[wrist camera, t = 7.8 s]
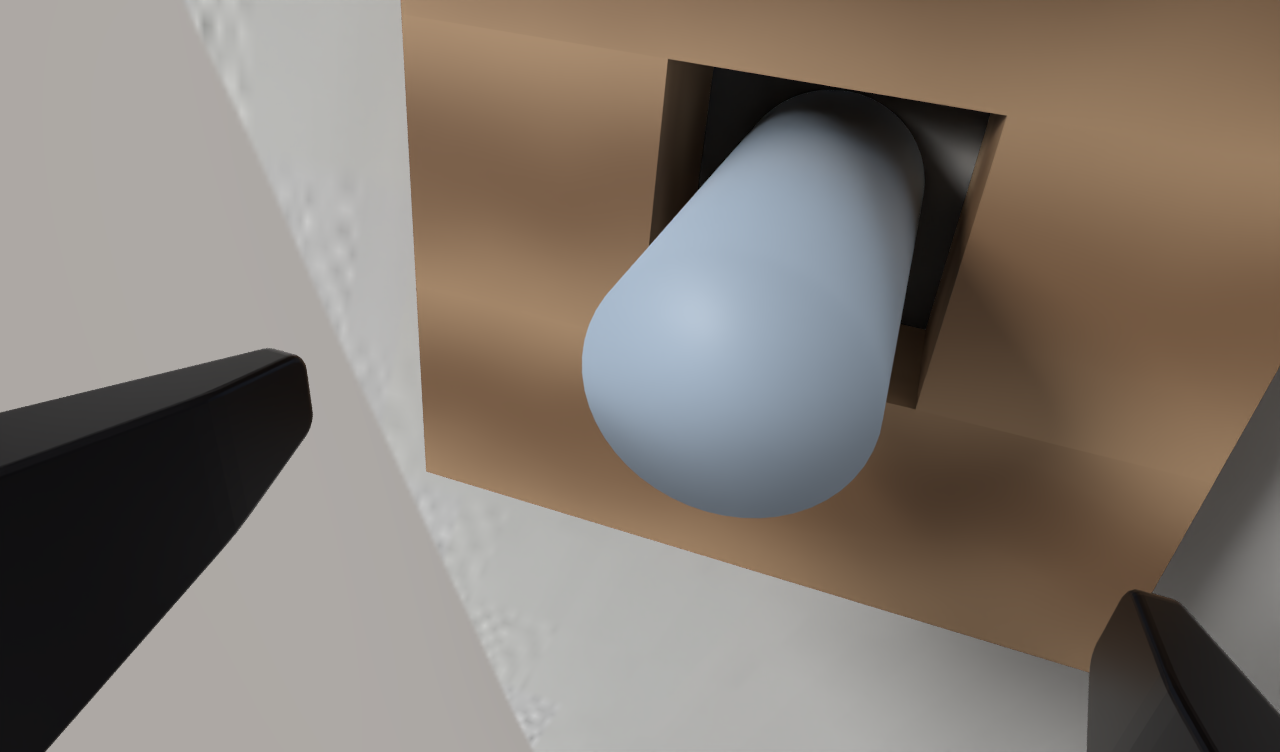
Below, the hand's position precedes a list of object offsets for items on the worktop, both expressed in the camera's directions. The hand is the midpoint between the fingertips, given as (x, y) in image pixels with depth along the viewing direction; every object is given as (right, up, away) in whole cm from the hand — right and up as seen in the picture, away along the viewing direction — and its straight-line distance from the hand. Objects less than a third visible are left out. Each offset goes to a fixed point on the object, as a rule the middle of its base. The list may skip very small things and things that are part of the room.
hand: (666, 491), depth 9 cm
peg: (+4, +5, +9) cm, 11 cm away
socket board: (+4, +5, +9) cm, 11 cm away
